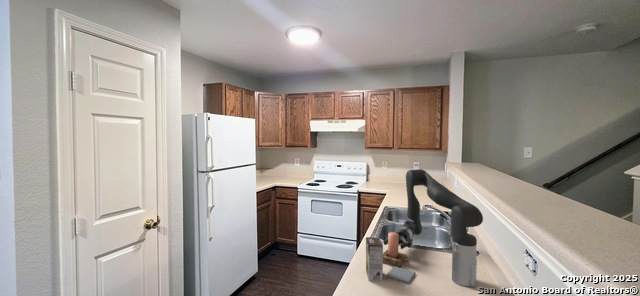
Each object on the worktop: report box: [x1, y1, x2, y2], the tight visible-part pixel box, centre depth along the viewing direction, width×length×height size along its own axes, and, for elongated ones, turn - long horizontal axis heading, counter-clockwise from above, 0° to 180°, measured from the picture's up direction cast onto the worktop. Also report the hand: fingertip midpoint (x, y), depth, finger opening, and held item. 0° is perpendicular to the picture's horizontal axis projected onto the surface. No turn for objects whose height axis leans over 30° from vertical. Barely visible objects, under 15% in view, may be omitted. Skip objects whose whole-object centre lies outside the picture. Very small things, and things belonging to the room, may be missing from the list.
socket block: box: [383, 249, 407, 268], centre depth 139 cm, size 10×10×3 cm
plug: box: [387, 231, 399, 259], centre depth 139 cm, size 5×5×14 cm
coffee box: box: [365, 236, 384, 282], centre depth 124 cm, size 9×6×16 cm
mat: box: [385, 266, 416, 285], centre depth 125 cm, size 10×10×1 cm
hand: (392, 245), depth 138 cm, fingers open, 8 cm apart
